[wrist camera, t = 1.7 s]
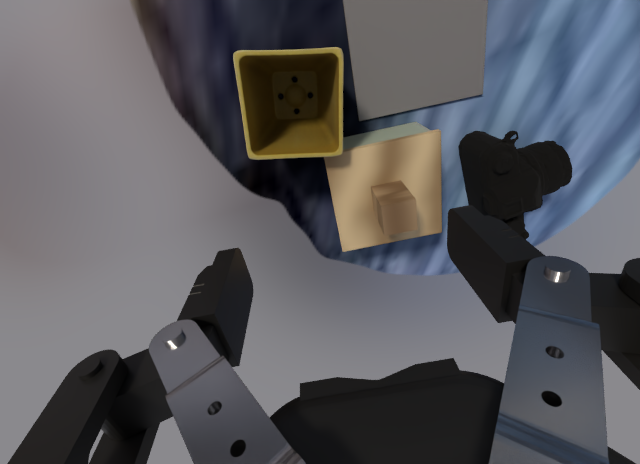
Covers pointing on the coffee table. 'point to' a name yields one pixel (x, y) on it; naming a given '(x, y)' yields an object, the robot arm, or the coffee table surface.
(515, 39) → the coffee table surface
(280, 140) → the flower pot
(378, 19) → the mat
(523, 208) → the film camera
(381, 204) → the lid
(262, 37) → the coffee table surface
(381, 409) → the robot arm
